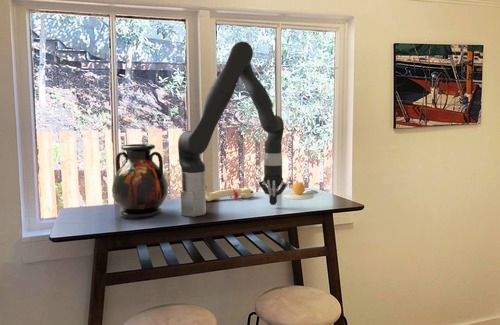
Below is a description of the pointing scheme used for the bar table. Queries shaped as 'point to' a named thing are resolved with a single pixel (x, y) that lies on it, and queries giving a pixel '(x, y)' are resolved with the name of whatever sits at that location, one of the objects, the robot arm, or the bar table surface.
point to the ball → (298, 188)
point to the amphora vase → (139, 183)
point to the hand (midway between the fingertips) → (273, 204)
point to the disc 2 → (311, 192)
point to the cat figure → (229, 193)
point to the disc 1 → (298, 196)
